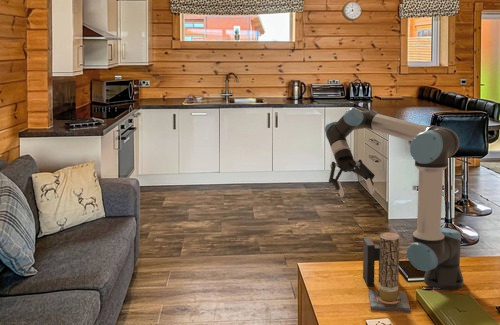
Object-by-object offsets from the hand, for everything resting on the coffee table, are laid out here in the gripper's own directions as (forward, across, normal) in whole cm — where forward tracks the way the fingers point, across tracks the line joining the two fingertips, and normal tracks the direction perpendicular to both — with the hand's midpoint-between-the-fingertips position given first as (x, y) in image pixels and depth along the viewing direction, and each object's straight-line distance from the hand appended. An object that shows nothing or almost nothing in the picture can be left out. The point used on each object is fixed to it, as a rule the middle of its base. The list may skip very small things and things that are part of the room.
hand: (357, 194), depth 201 cm
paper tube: (+41, -2, -10) cm, 42 cm away
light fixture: (+30, -9, -24) cm, 39 cm away
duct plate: (+42, -2, -11) cm, 44 cm away
